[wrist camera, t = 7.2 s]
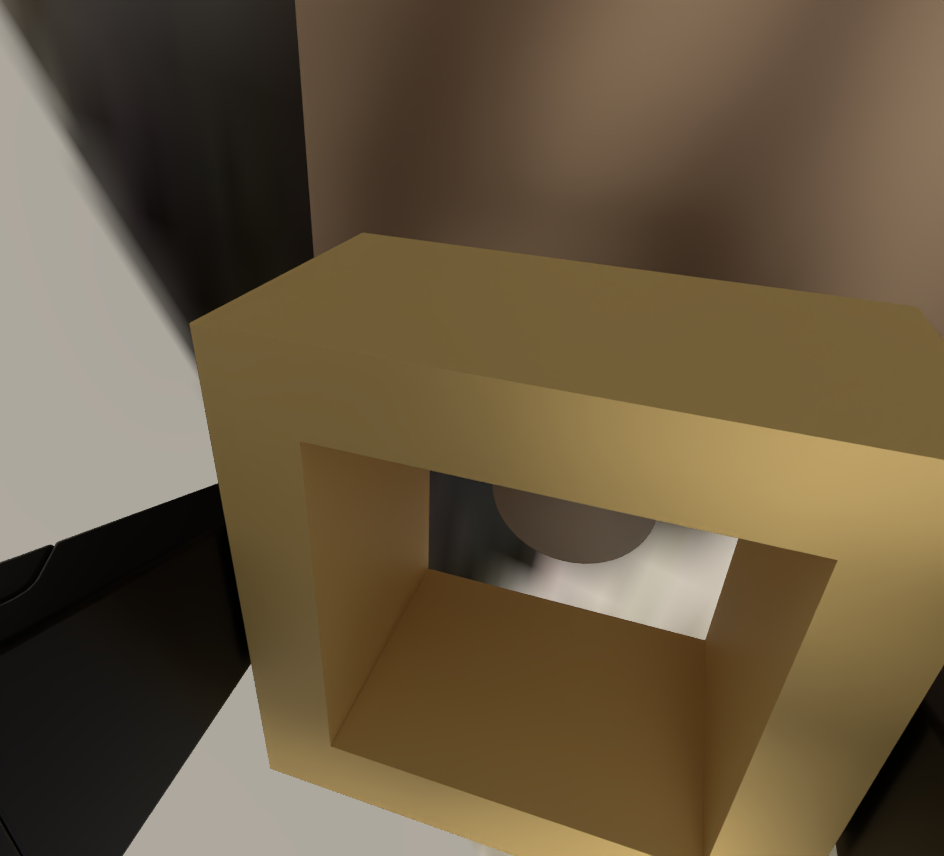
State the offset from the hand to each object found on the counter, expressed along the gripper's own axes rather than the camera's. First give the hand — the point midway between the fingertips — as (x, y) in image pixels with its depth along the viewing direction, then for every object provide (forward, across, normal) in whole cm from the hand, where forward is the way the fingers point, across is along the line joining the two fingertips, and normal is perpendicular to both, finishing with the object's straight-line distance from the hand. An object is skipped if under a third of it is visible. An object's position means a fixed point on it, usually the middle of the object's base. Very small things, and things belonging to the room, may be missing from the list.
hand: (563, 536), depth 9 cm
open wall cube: (+1, 0, 0) cm, 1 cm away
